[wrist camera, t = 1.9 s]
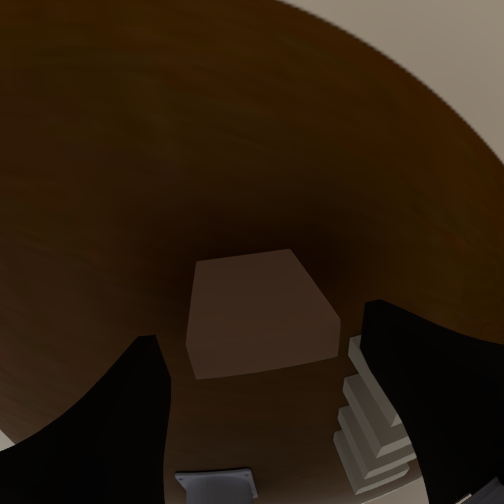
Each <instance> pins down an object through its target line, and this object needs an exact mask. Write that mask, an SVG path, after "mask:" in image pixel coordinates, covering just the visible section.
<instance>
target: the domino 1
mask: <svg viewBox="0 0 504 504" xmlns="http://www.w3.org/2000/svg"><path fill="white" fill-rule="evenodd" d="M340 326H341V319H340V318H339V316H338V315H337V314H336V312H335V311H334V309H333V308H332V306H331V305H330V304H329V302H328V301H327V299H326V298H325V297H324V295H323V294H322V292H321V291H320V290H319V288H318V287H317V285H316V284H315V283H314V281H313V280H312V278H311V277H310V276H309V274H308V273H307V271H306V270H305V269H304V267H303V266H302V264H301V263H300V262H299V260H298V259H297V258H296V256H295V255H294V253H293V252H292V251H291V249H285V250H277V251H270V252H262V253H255V254H248V255H240V256H233V257H225V258H218V259H210V260H203V261H196V268H195V275H194V282H193V289H192V296H191V304H190V312H189V320H188V328H187V337H186V347H187V351H188V354H189V358H190V361H191V364H192V368H193V371H194V374H195V377H196V380H198V379H208V378H217V377H226V376H234V375H241V374H248V373H255V372H261V371H268V370H274V369H279V368H285V367H290V366H295V365H300V364H305V363H310V362H315V361H319V360H324V359H328V358H332V357H336V356H338V348H339V337H340Z"/></svg>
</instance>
